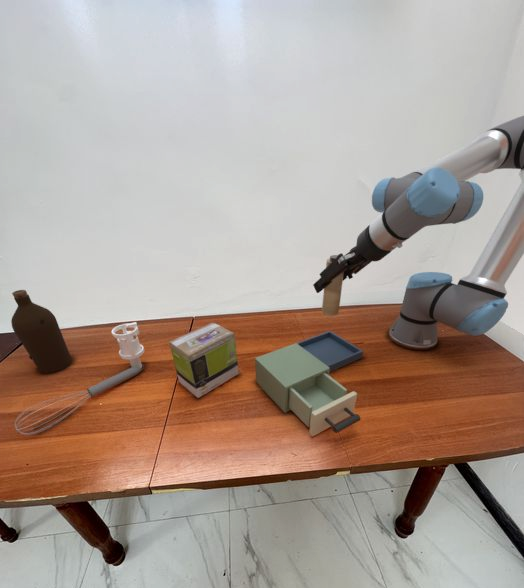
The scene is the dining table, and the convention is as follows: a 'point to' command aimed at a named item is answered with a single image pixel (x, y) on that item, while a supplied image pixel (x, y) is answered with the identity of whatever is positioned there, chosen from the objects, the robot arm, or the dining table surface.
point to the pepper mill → (332, 293)
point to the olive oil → (40, 334)
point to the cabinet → (286, 371)
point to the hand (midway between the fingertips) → (323, 286)
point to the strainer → (129, 344)
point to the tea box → (205, 358)
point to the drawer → (323, 404)
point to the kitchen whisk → (92, 392)
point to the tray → (331, 350)
